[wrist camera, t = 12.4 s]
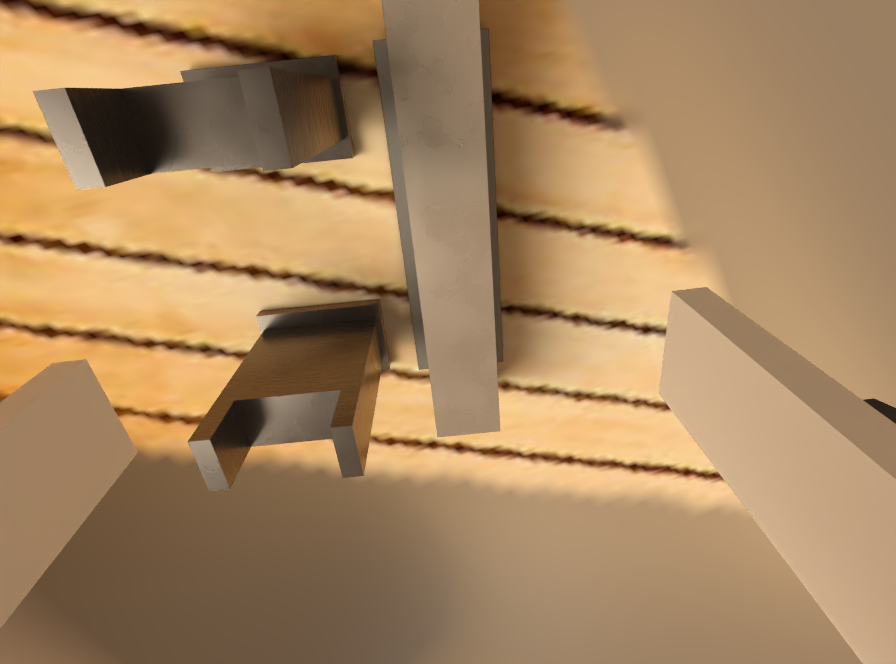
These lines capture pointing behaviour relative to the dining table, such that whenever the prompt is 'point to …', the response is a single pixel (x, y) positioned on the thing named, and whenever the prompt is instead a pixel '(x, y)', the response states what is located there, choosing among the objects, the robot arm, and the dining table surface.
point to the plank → (401, 196)
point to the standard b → (299, 389)
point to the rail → (448, 201)
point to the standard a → (202, 122)
